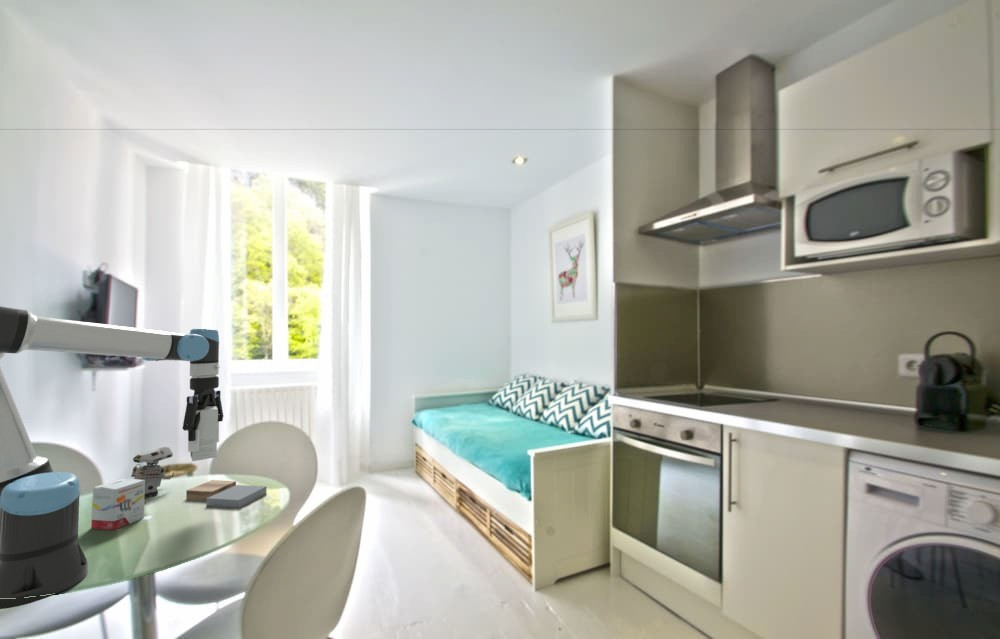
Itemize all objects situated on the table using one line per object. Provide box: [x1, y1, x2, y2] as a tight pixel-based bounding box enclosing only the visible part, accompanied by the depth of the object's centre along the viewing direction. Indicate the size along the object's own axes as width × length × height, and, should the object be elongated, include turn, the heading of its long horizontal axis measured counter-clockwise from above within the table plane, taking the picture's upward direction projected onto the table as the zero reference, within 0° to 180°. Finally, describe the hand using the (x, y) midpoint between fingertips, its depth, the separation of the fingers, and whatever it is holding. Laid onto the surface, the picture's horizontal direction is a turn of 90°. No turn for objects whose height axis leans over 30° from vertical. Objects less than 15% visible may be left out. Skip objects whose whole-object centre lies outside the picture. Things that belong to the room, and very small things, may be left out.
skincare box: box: [190, 406, 218, 462], centre depth 129 cm, size 8×7×16 cm
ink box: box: [91, 477, 146, 531], centre depth 120 cm, size 9×9×12 cm
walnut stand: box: [185, 479, 237, 502], centre depth 141 cm, size 10×10×3 cm
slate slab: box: [206, 484, 267, 509], centre depth 136 cm, size 12×12×2 cm
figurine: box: [130, 446, 175, 499], centre depth 144 cm, size 9×12×15 cm
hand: (204, 446), depth 129 cm, fingers closed on skincare box, 10 cm apart
